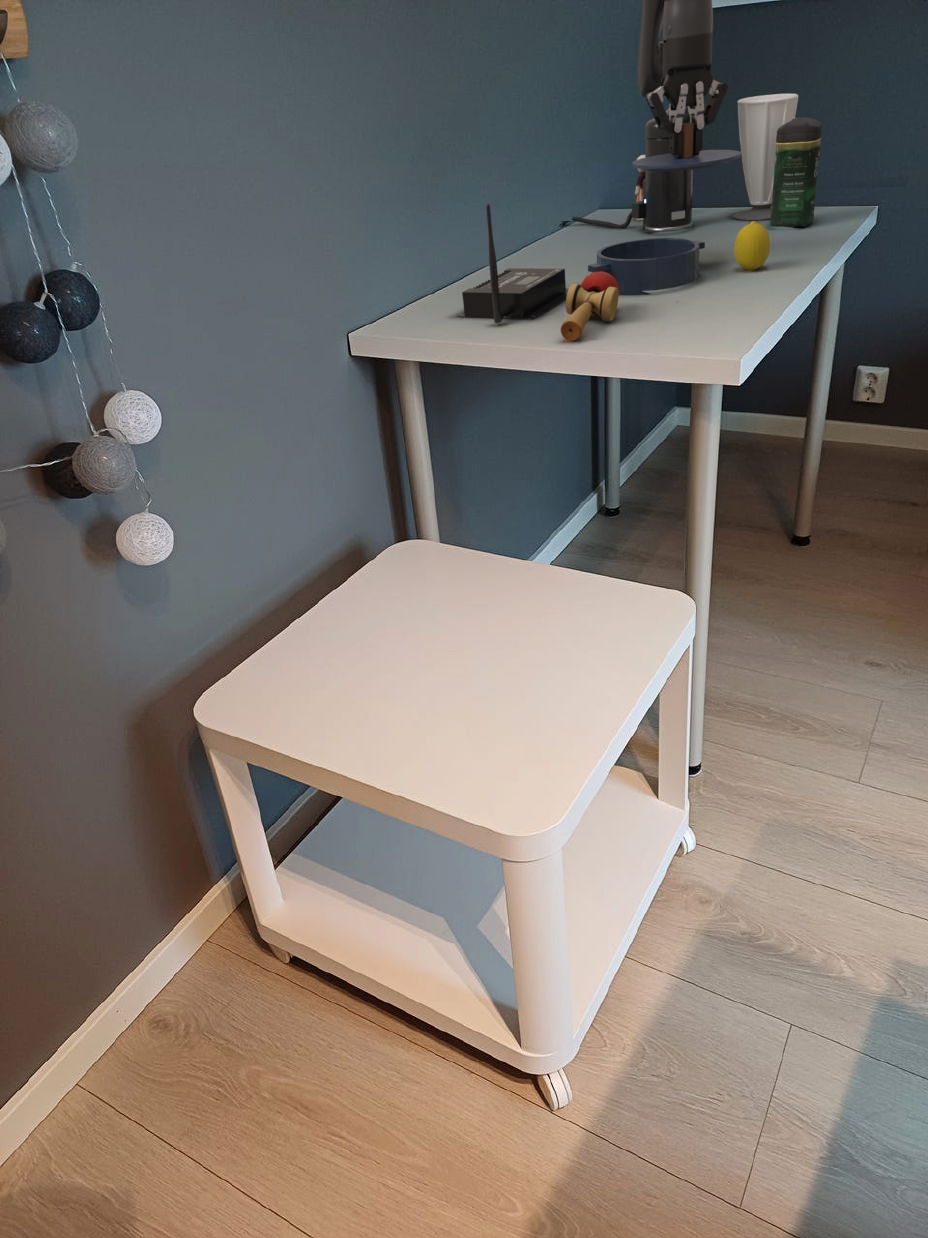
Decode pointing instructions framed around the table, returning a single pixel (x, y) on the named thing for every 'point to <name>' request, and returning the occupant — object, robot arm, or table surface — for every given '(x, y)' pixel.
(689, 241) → the pan
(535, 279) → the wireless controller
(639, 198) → the grandmother figurine
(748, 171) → the cup
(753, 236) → the lemon
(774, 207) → the coffee jar
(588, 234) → the table surface
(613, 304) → the kendama
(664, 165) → the pan lid
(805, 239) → the table surface
